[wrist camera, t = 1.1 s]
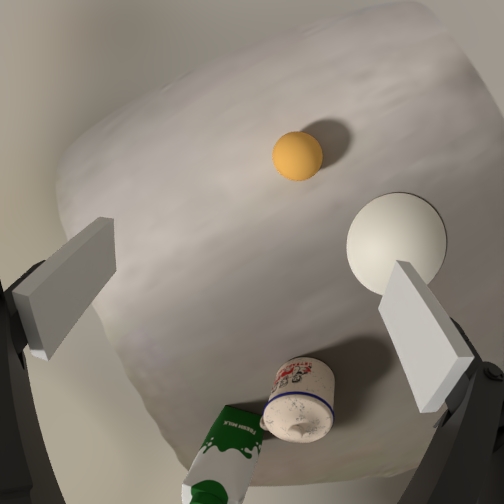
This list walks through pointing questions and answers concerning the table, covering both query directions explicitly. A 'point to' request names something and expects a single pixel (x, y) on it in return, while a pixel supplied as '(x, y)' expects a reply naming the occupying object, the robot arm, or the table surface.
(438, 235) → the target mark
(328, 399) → the teacup with lid
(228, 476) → the milk carton
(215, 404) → the table surface
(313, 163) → the ball
